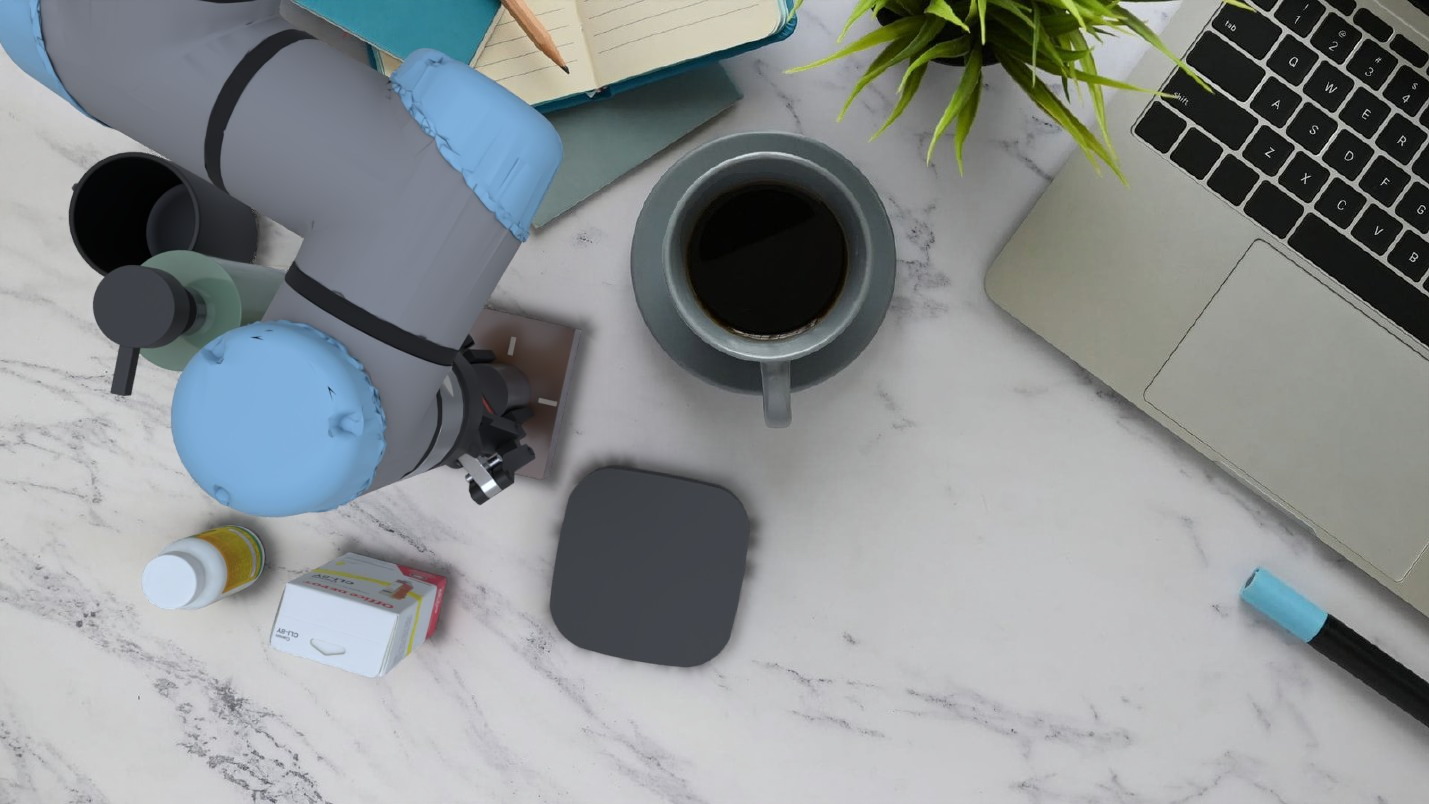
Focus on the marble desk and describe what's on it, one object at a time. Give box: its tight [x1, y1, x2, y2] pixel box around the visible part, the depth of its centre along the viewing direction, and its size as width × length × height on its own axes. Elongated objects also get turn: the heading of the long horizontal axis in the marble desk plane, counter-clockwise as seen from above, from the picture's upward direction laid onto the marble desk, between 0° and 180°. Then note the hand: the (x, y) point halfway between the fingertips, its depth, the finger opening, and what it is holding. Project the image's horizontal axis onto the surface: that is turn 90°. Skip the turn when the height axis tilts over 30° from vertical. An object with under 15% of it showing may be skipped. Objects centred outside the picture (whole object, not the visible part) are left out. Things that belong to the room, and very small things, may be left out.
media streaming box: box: [549, 465, 751, 668], centre depth 78 cm, size 15×15×3 cm
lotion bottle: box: [139, 250, 288, 373], centre depth 67 cm, size 7×7×23 cm
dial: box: [470, 363, 530, 417], centre depth 72 cm, size 4×4×8 cm
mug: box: [68, 151, 259, 278], centre depth 74 cm, size 9×12×9 cm
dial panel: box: [469, 307, 582, 481], centre depth 77 cm, size 12×9×3 cm
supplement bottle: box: [140, 524, 266, 611], centre depth 75 cm, size 5×5×10 cm
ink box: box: [267, 551, 448, 679], centre depth 74 cm, size 9×5×12 cm, turn 74°
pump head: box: [92, 265, 190, 397], centre depth 53 cm, size 7×4×2 cm, turn 167°
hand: (498, 392), depth 75 cm, fingers closed on dial, 4 cm apart
